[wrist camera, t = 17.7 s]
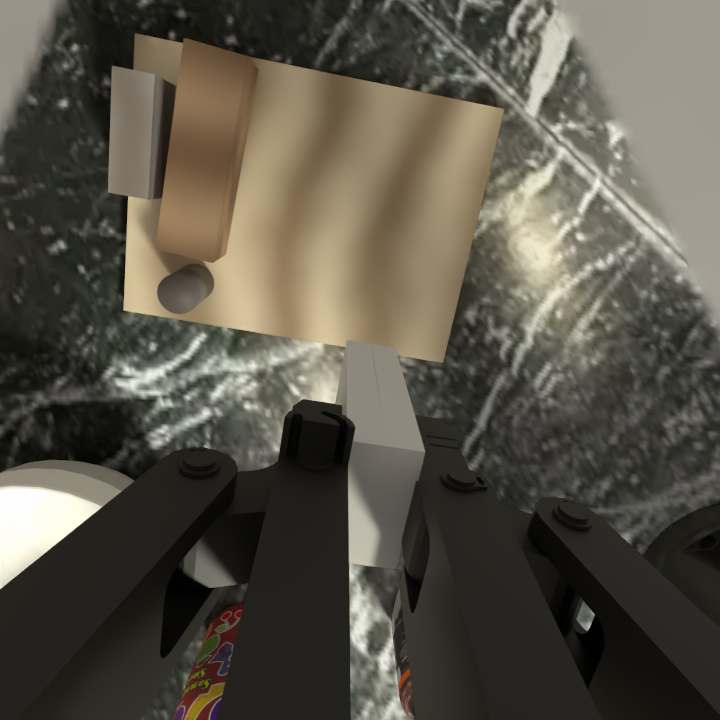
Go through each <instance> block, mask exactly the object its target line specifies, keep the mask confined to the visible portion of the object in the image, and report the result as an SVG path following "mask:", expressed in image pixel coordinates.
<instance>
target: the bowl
mask: <svg viewBox="0 0 720 720" xmlns="http://www.w3.org/2000/svg"><path fill="white" fill-rule="evenodd" d="M133 482H134V480H133V479H131V478H129V477H128V476H126V475H124V474H122V473H120V472H117V471H115V470H112V469H110V468H107V467H104V466H100V465H95V464H90V463H85V462H78V461H66V460H45V461H37V462H29V463H26V464H23V465H19V466H16V467H13V468H10V469H7V470H5V471H3V472H0V589H1V588H2V587H3V586H5V585H6V584H7V583H8V582H10V581H11V580H12V579H13V578H15V577H16V576H17V575H18V574H20V573H21V572H22V571H23V570H24V569H26V568H27V567H28V566H29V565H31V564H32V563H33V562H34V561H36V560H37V559H38V558H39V557H41V556H42V555H43V554H44V553H46V552H47V551H48V550H49V549H51V548H52V547H53V546H54V545H56V544H57V543H58V542H59V541H61V540H62V539H63V538H64V537H65V536H67V535H68V534H69V533H70V532H72V531H73V530H74V529H75V528H77V527H78V526H79V525H80V524H82V523H83V522H84V521H85V520H87V519H88V518H89V517H90V516H92V515H93V514H94V513H95V512H97V511H98V510H99V509H100V508H102V507H103V506H104V505H105V504H106V503H108V502H109V501H110V500H111V499H113V498H114V497H115V496H116V495H118V494H119V493H120V492H121V491H123V490H124V489H125V488H126V487H128V486H129V485H130V484H131V483H133Z"/></svg>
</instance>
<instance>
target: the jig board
mask: <svg viewBox="0 0 720 720" xmlns="http://www.w3.org/2000/svg"><path fill="white" fill-rule="evenodd" d="M182 47H183V43H180V42H175V41H170V40H165V39H160V38H155V37H150V36H146V35H141V34H136V33H135V44H134V68H133V70H131V69H126V68H121V67H116V66H112V80H111V114H110V148H109V182H108V192H109V193H114V194H120V195H125V196H128V215H127V239H126V264H125V288H124V311H130V312H136V313H142V314H148V315H155V316H161V317H167V318H173V319H179V320H185V321H191V322H197V323H203V324H209V325H215V326H221V327H227V328H234V329H240V330H246V331H252V332H258V333H264V334H270V335H276V336H282V337H288V338H294V339H300V340H306V341H313V342H319V343H325V344H331V345H337V346H343V347H346V342H347V340H351V341H357V342H363V343H369V344H375V345H381V346H387V347H394V348H396V352H397V355H398V356H404V357H410V358H416V359H422V360H428V361H434V362H440V363H443V361H444V357H445V353H446V348H447V344H448V340H449V336H450V332H451V328H452V324H453V320H454V315H455V311H456V307H457V303H458V299H459V295H460V291H461V286H462V282H463V278H464V274H465V270H466V266H467V262H468V258H469V253H470V249H471V245H472V241H473V237H474V233H475V229H476V224H477V220H478V216H479V212H480V208H481V204H482V200H483V196H484V191H485V187H486V183H487V179H488V175H489V171H490V167H491V162H492V158H493V154H494V150H495V146H496V142H497V138H498V134H499V129H500V125H501V121H502V117H503V113H504V109H502V108H497V107H492V106H487V105H482V104H477V103H472V102H467V101H463V100H458V99H453V98H448V97H443V96H438V95H433V94H428V93H424V92H419V91H414V90H409V89H404V88H399V87H394V86H389V85H385V84H380V83H375V82H370V81H365V80H360V79H355V78H350V77H346V76H341V75H336V74H331V73H326V72H321V71H316V70H311V69H307V68H302V67H297V66H292V65H287V64H282V63H277V62H272V61H267V60H263V59H258V58H253V57H249V58H250V60H251V61H252V62H253V63H254V65H255V66H256V67H257V68H258V70H259V71H258V77H257V82H256V88H255V94H254V99H253V105H252V110H251V116H250V122H249V127H248V133H247V139H246V144H245V150H244V156H243V161H242V167H241V173H240V178H239V184H238V190H237V195H236V201H235V206H234V212H233V218H232V223H231V229H230V235H229V240H228V246H227V252H226V255H225V256H223V257H222V258H220V259H218V260H217V261H215V262H214V263H210V262H206V261H201V260H197V259H193V258H189V257H185V256H181V255H177V254H173V253H169V252H165V251H161V250H157V249H155V247H156V239H157V232H158V225H159V217H160V210H161V202H162V195H163V188H164V180H165V173H166V165H167V158H168V151H169V143H170V136H171V129H172V121H173V114H174V106H175V99H176V92H177V84H178V77H179V69H180V62H181V55H182Z"/></svg>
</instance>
